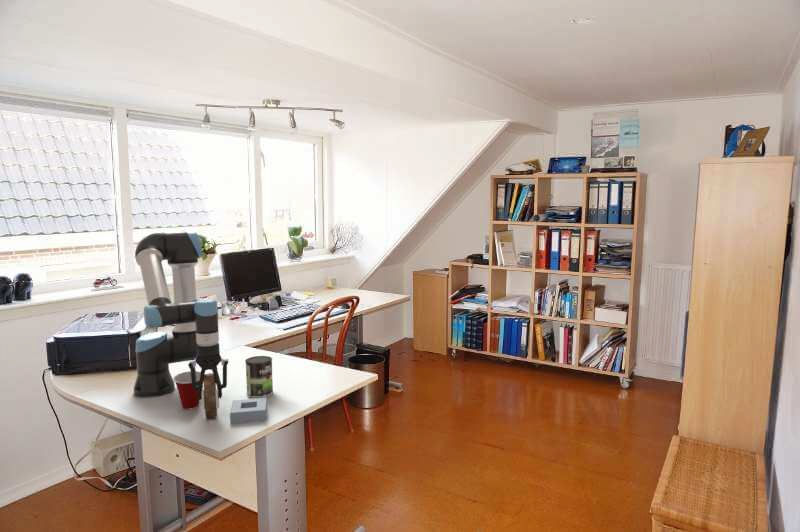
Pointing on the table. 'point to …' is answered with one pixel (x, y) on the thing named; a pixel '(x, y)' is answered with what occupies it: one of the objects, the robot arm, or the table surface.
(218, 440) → the table surface
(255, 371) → the coffee can
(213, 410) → the peg
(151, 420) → the table surface
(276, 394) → the table surface
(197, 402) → the plastic cup
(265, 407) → the socket block
